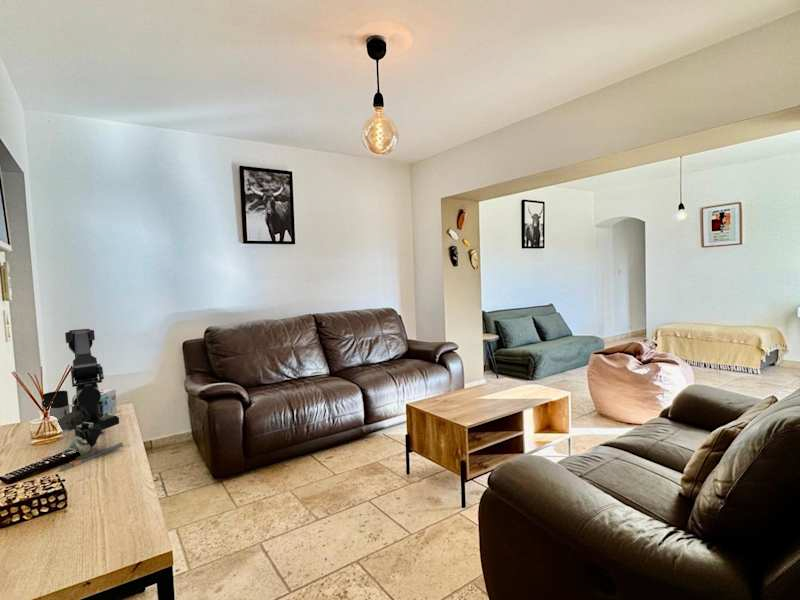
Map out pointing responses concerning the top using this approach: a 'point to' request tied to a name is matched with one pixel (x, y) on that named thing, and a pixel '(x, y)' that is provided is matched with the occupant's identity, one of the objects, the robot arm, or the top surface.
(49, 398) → the glass holder
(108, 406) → the light bulb box
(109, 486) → the top surface
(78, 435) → the robot arm
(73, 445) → the pipe fitting
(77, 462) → the grey metal bars
